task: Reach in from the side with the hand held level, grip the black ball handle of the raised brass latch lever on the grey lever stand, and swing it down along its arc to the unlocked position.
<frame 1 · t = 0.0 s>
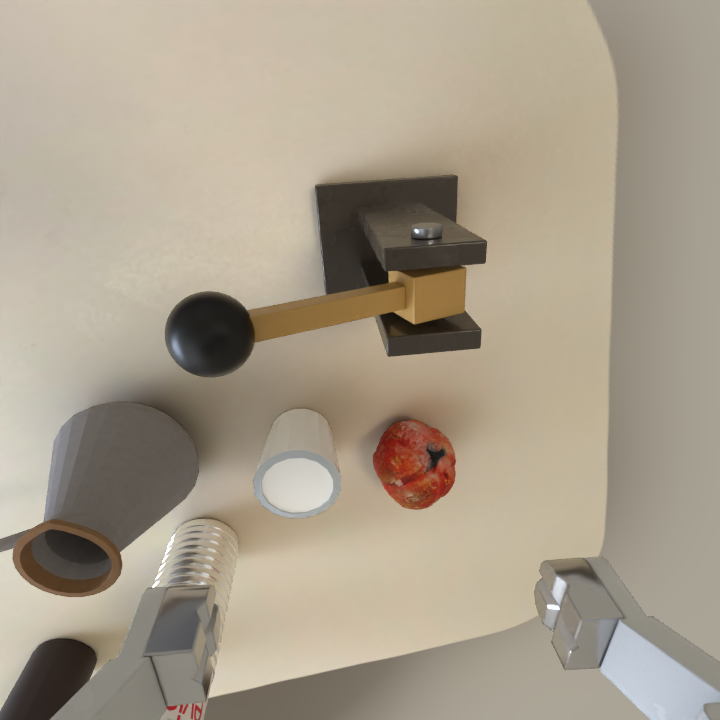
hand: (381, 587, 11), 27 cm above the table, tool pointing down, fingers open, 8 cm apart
white cup: (301, 433, 41), on the table
coffee pot: (84, 445, 40), on the table
vinegar: (67, 654, 52), on the table
grey lever stand: (386, 236, 34), on the table
water bottle: (206, 538, 46), on the table
latch lever: (325, 310, 19), point 16 cm above the table, hinge at 20.0°
pomegranate: (406, 440, 42), on the table
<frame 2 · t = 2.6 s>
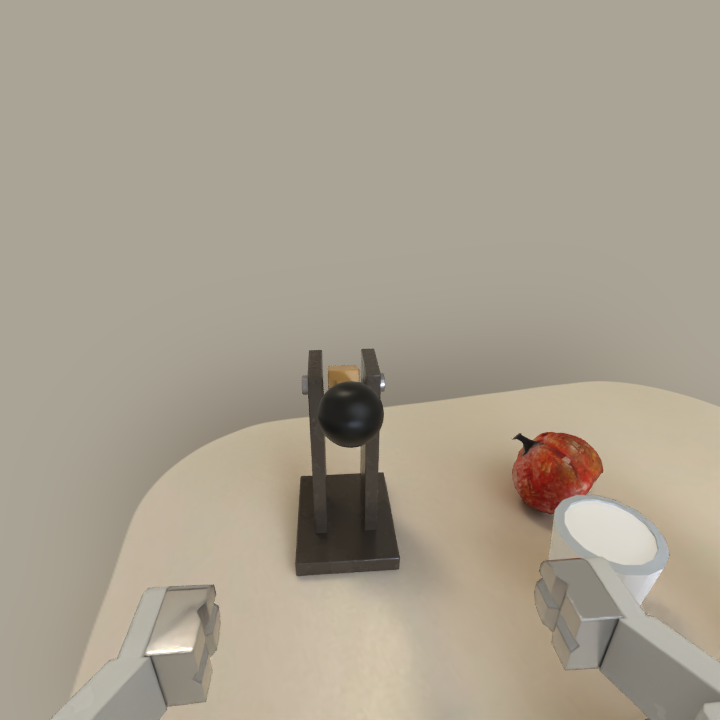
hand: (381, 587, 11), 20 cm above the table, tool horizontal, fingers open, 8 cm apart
white cup: (584, 601, 33), on the table
grey lever stand: (345, 523, 39), on the table
latch lever: (346, 396, 28), point 16 cm above the table, hinge at 20.0°
pomegranate: (550, 503, 42), on the table
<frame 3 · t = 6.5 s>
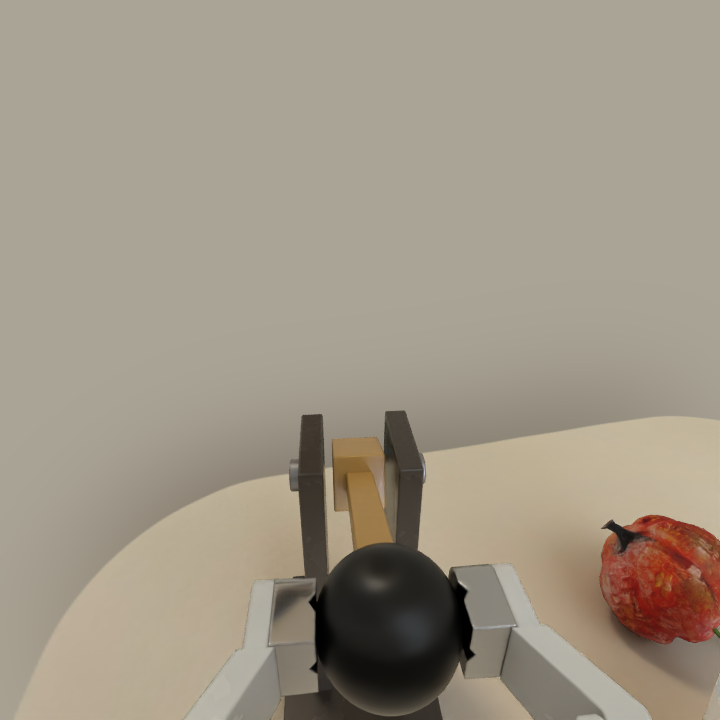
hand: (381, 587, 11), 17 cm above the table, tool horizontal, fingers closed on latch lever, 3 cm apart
grey lever stand: (357, 660, 26), on the table
latch lever: (368, 524, 15), point 16 cm above the table, hinge at 20.0°, touching gripper
pomegranate: (652, 616, 29), on the table
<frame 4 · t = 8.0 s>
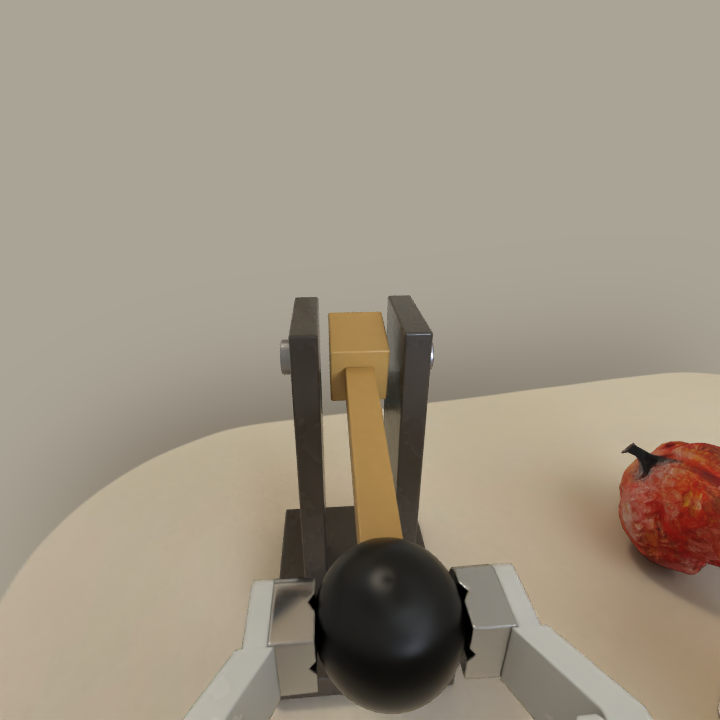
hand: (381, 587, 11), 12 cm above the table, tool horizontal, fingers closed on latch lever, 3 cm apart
grey lever stand: (356, 591, 24), on the table
latch lever: (368, 453, 14), point 13 cm above the table, hinge at -11.7°, touching gripper
pomegranate: (675, 552, 27), on the table
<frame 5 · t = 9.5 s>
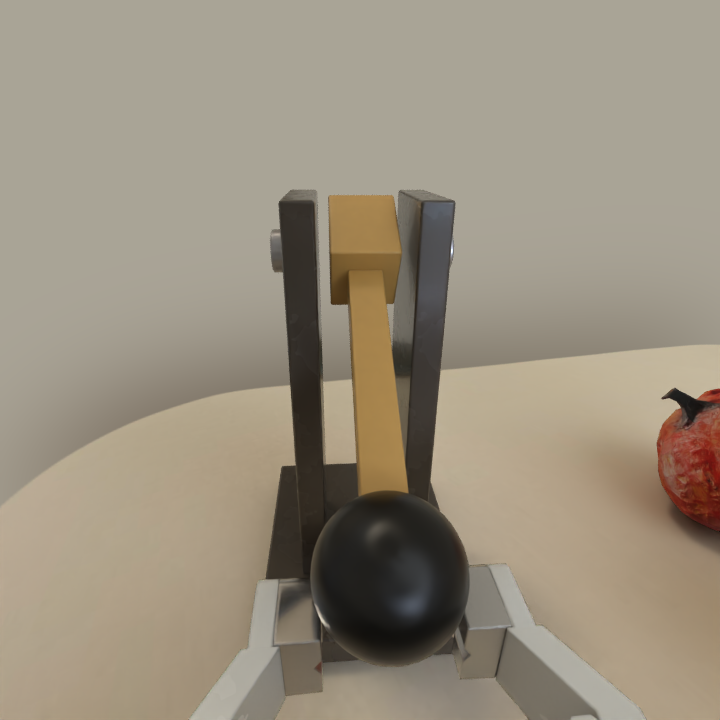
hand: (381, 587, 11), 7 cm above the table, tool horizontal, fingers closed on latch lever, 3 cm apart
grey lever stand: (359, 551, 21), on the table
latch lever: (372, 380, 12), point 11 cm above the table, hinge at -31.8°, touching gripper
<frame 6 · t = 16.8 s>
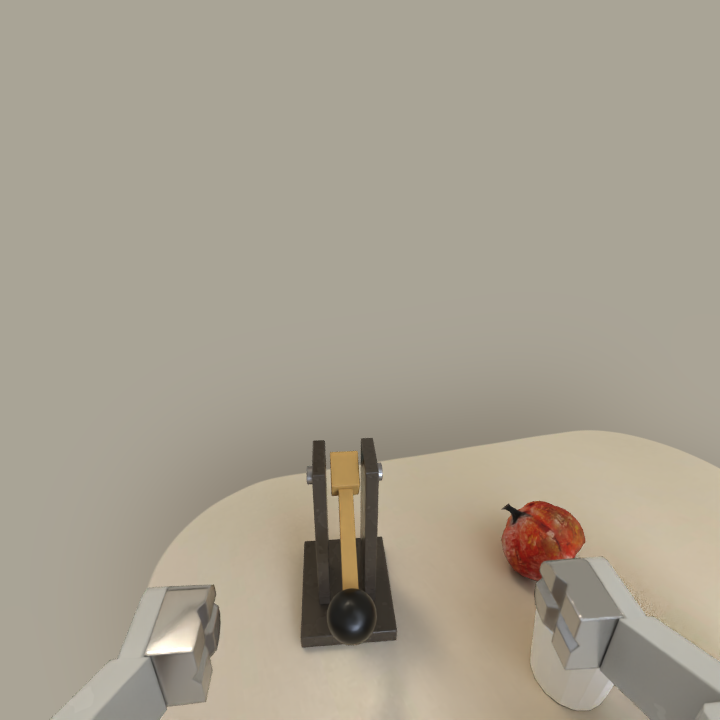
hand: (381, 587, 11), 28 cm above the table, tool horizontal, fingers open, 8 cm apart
white cup: (566, 672, 36), on the table
grey lever stand: (346, 590, 42), on the table
latch lever: (347, 540, 33), point 11 cm above the table, hinge at -30.4°
pomegranate: (537, 567, 45), on the table
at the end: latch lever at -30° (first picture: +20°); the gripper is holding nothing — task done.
